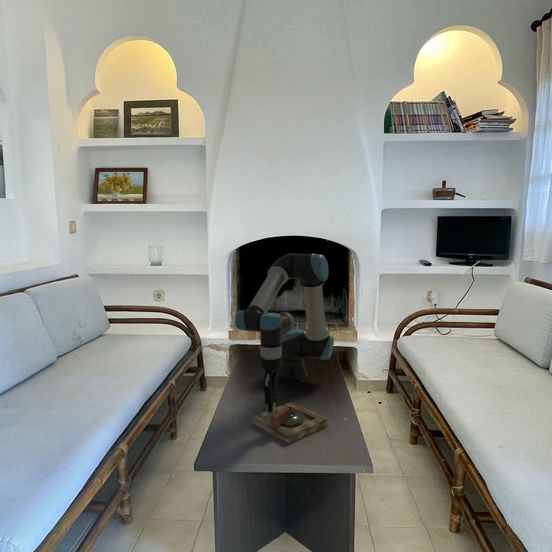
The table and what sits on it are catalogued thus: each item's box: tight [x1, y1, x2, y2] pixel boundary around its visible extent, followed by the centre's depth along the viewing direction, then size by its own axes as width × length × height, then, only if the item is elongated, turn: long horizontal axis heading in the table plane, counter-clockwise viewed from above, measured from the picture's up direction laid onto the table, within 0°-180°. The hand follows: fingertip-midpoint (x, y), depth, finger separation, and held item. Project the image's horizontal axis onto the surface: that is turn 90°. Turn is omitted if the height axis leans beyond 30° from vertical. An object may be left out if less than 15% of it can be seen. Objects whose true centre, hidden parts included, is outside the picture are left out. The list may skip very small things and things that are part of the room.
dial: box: [271, 407, 305, 428], centre depth 154 cm, size 16×11×5 cm, turn 145°
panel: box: [252, 401, 329, 444], centre depth 157 cm, size 20×20×3 cm
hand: (271, 419), depth 151 cm, fingers closed
